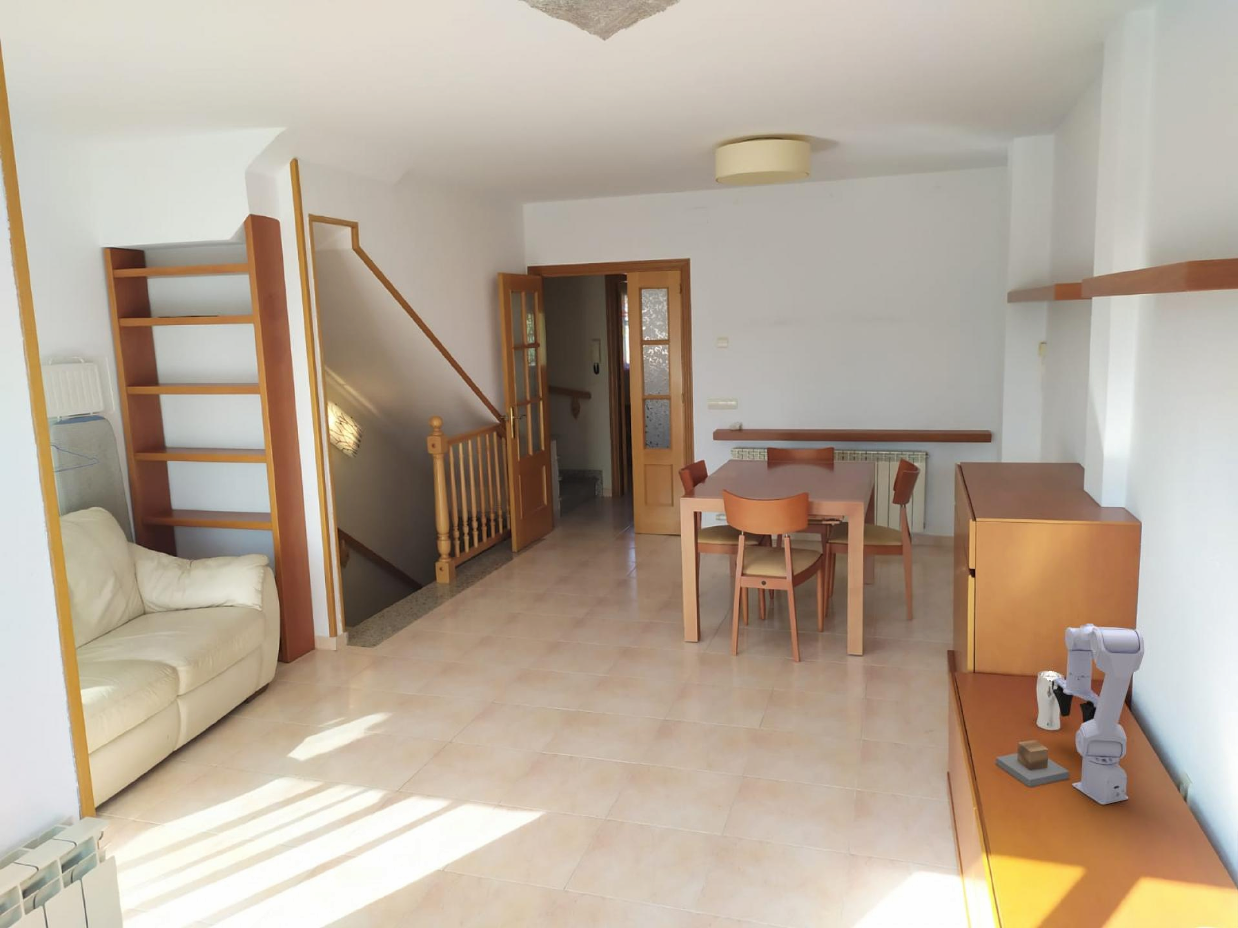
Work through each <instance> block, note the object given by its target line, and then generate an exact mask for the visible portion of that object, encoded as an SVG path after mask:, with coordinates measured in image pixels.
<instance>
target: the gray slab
mask: <svg viewBox="0 0 1238 928" xmlns="http://www.w3.org/2000/svg"><path fill="white" fill-rule="evenodd" d="M1017 756H1018V752H1017V753H1011V754H1007V755H1001V756H996V758H995V759H996V760H995V765H996V766H998V767H999V768H1001V769H1002V770H1004V771H1005V772H1006V773H1008V774H1009V775H1010V776H1013V777H1014V778H1016V779H1017V780H1018V781H1020V782H1021V783H1023V784H1024V785H1025V786H1027V787H1028V788H1031V787H1037V786H1041V785H1046V784H1050V783H1055V782H1060V781H1063V780H1065V781H1066V780H1069V779H1070V771H1069V770H1067V769H1066V768H1065V767H1063V766H1061V765H1059V764H1058V763H1057V762H1055V761H1053V760H1052V759H1051V758H1049V757H1048V766H1047V768H1041V769H1034V770H1029V769H1028V768H1026V767H1025V766H1024V765H1022V764H1021V763H1020V762H1018V761H1017Z"/></svg>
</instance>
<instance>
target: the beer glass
mask: <svg viewBox="0 0 1238 928" xmlns="http://www.w3.org/2000/svg"><path fill="white" fill-rule="evenodd" d="M1056 678H1062V679H1064V680H1065V676H1064V675H1063V674H1062V673H1060V672H1057V671H1052V670H1042V671H1039V672H1038V673H1037V680H1036V698H1037V699H1036V700H1037V706H1038V714H1037V719H1036V725H1037V726H1038V727H1039V728H1040V729H1043V730H1046V731H1057V730H1060V728H1061V721H1060V715H1061V713H1060V708H1059V704H1058V701H1057V699H1056V697H1055V695H1054V693H1053V690H1054V689H1057V687H1056V686H1054V679H1056Z"/></svg>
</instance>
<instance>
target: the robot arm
mask: <svg viewBox="0 0 1238 928" xmlns="http://www.w3.org/2000/svg"><path fill="white" fill-rule="evenodd" d="M1064 635H1065V636H1064V640H1065V647H1066V649H1067V662H1066V679H1065V678H1064V679H1062V678H1056V679H1054V686H1056V687H1057V689H1054V690H1053V693H1054V695H1055V697H1056V699H1057V701H1058V704H1059V708H1060V715H1061V717H1062V718H1065V717H1069V716H1070V714H1071V708H1072V703H1073V702H1072V701H1073V698H1074V696H1075V697H1078V698H1080V699H1082V700H1083V701H1086V702H1082V703H1080V704H1079V707H1080V710H1081V713H1082V723H1081V724H1080V726H1079V729H1078V730H1077V731H1076V734H1075V747H1076V751H1077V752H1078V754H1080V756H1082V762H1081V763H1082V764H1081V765H1082V766H1081V780H1080V781H1079V782H1074V783H1072V784H1071V785H1072V786H1073V787H1074V788H1076V789H1077V790H1079V791H1080V792H1081V793H1083V794H1085V795H1086V796H1087V797H1089V798H1091V799H1092V800H1094V801H1096V803H1098V804H1100V805H1107V804H1111V803H1112V804H1113V803H1116V802H1120V801H1126V800H1128V799H1129V797H1128V795H1127V784H1128V783H1127V782H1128V774H1127V772H1126V770H1125V769H1123V768H1122V767H1121V766H1120V764H1119V763H1120V759H1123V758H1124V757H1125V755H1126V753H1127V742H1128V741H1127V739H1128V737H1127V735H1126V732H1125V730H1124V728H1123V726H1122V725H1121V724H1119V721H1120V717H1121V714H1122V710H1123V706H1124V703H1125V700H1126V696H1127V692H1128V689H1129V685H1130V683H1131V679H1132V675H1133V674H1134V673H1135V672H1137V671H1139V670H1140V667H1141V665H1142V661H1143V658H1144V654H1145V643H1144V641H1145V640H1144V638H1143V635H1142V633H1141V632H1140V631H1139V630H1138V629H1135V628H1134V629H1130V628H1124V627H1122V628H1121V627H1112V626H1111V627H1108V626H1107V627H1106V626H1096V625H1094V623H1085V625H1080V627H1078V628H1077V627H1070V626H1069V627H1067V628H1066V629H1065V634H1064ZM1093 659H1094V663H1095V667H1096V669H1097V670H1099V671H1101V672H1103V673H1104V674H1105V675H1104V679H1103V683H1102V686H1101V691H1100V693H1099V696H1098V694H1096V693H1095V691H1093V690H1092V689H1091V687H1092V674H1093V673H1092V672H1093Z"/></svg>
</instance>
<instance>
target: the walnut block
mask: <svg viewBox="0 0 1238 928" xmlns="http://www.w3.org/2000/svg"><path fill="white" fill-rule="evenodd" d="M1017 753H1018V756H1017V761H1018V762H1020V763H1021V764H1022V765H1024V766H1025V767H1026V768H1028V769H1029V770H1034V769H1041V768H1047V766H1048V758H1049V748H1047V747H1046V746H1044V745H1043V744H1042V743H1040V742H1039V741H1037V740H1036V739H1034V740H1028V741H1027V740H1026V741H1019V742H1018V743H1017Z"/></svg>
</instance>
